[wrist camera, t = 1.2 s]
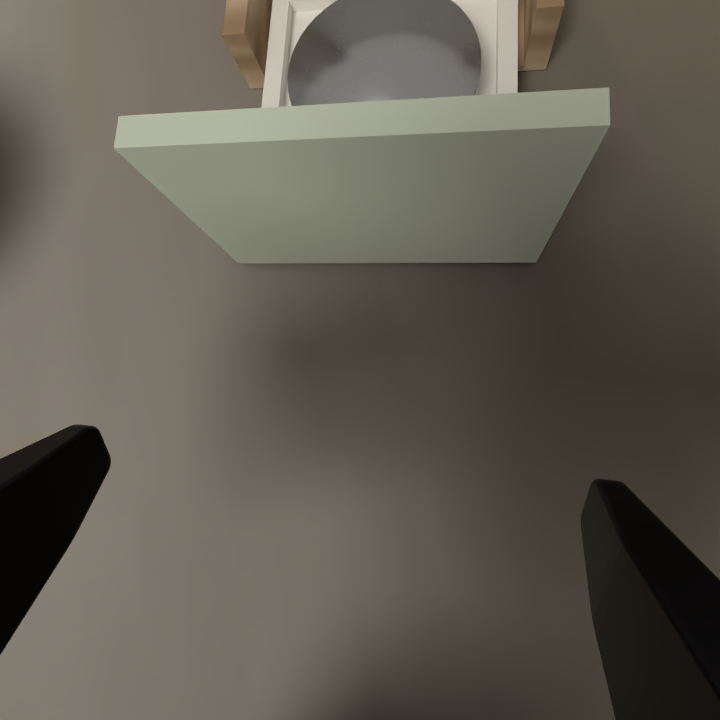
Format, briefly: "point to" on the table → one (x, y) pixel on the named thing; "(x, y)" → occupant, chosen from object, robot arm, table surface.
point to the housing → (253, 17)
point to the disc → (385, 53)
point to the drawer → (378, 162)
